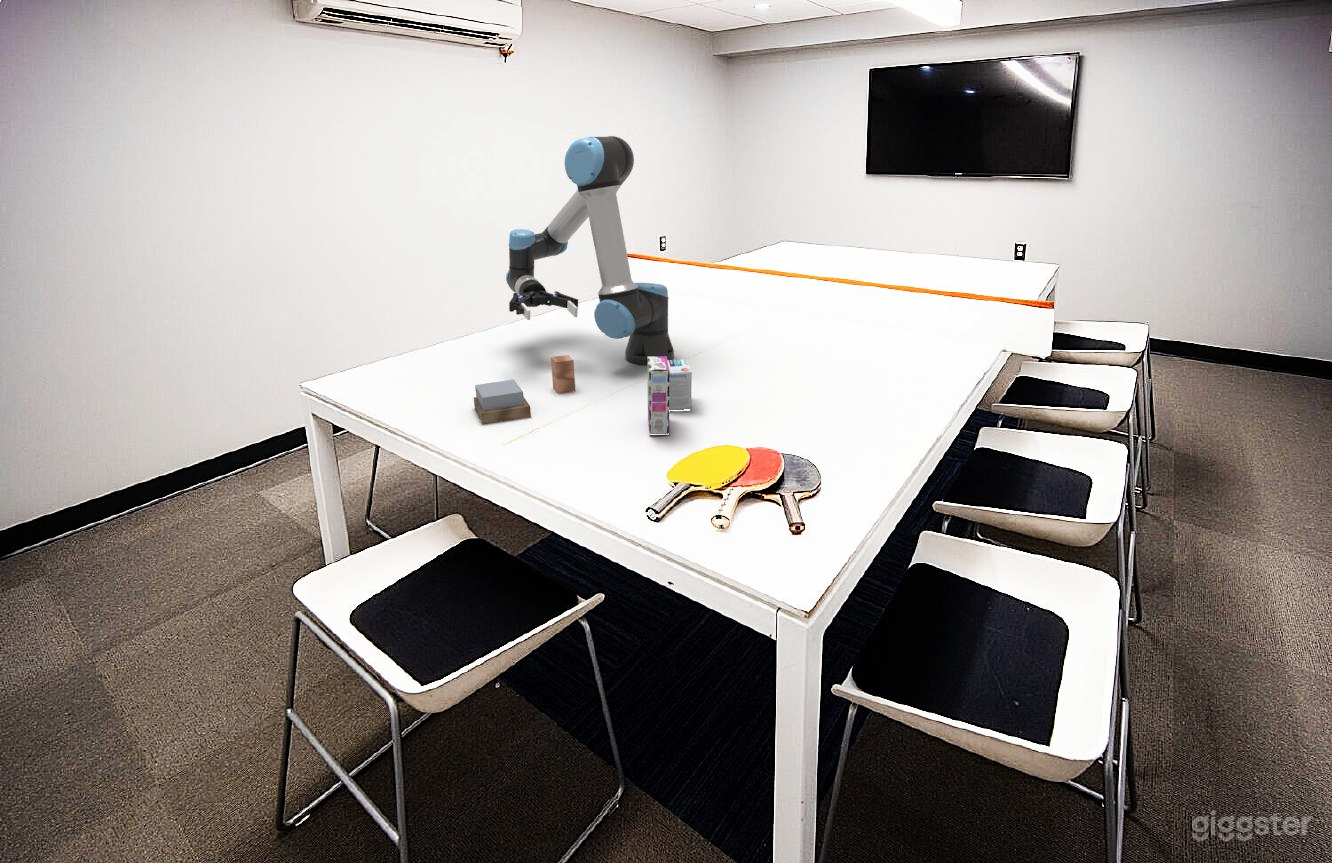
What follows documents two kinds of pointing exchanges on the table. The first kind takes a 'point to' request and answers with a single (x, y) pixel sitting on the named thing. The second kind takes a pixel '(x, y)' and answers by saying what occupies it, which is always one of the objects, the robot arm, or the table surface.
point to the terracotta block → (563, 374)
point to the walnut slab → (502, 413)
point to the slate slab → (499, 395)
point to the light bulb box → (680, 384)
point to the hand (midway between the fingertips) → (553, 313)
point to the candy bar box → (658, 394)
